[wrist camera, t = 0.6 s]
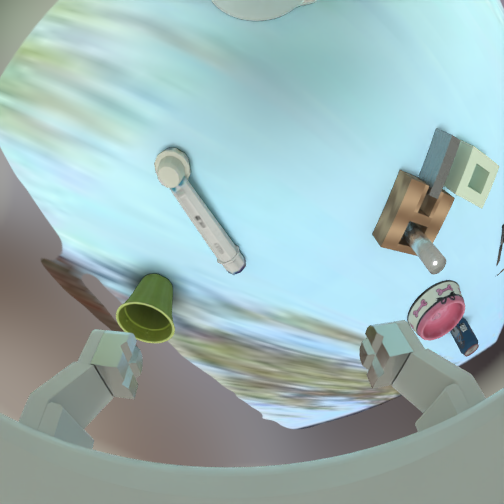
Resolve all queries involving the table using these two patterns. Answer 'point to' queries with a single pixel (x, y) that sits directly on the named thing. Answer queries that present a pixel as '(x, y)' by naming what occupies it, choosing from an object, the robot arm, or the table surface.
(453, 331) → the soda can
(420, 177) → the block
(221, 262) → the white elongated piece
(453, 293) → the dog bowl
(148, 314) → the plant pot
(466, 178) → the square hole block
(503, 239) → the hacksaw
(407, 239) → the peg
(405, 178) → the socket block
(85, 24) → the table surface
